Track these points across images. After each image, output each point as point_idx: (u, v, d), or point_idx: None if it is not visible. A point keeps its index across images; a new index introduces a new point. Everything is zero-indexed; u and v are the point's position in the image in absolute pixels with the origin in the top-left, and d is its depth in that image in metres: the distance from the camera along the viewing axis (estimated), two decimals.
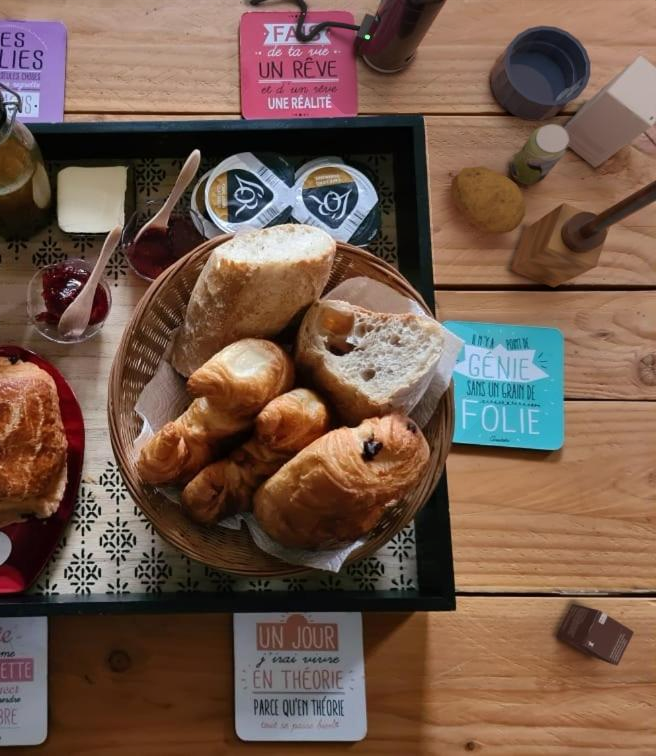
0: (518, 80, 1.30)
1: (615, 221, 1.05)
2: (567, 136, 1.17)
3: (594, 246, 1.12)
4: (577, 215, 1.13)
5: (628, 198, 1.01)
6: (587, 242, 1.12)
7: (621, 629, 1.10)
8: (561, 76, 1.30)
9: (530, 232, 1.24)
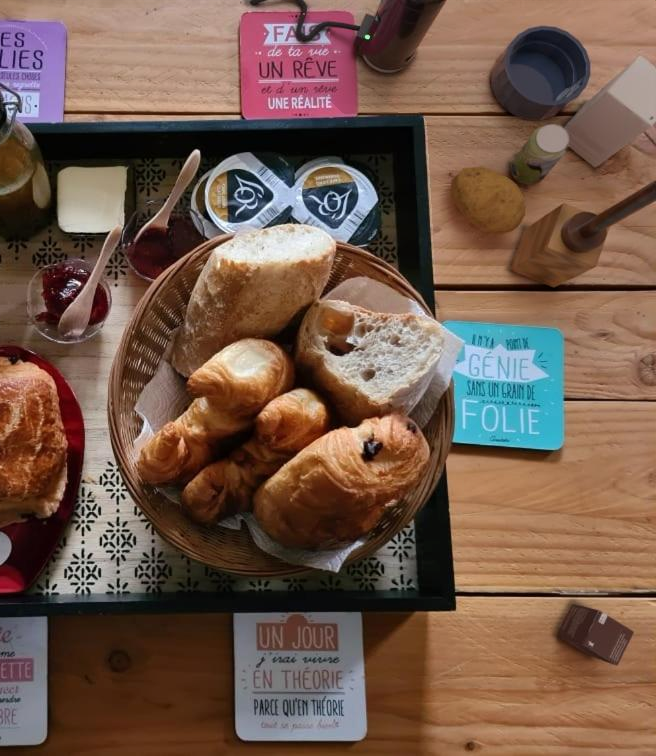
0: (518, 80, 1.30)
1: (615, 221, 1.05)
2: (567, 136, 1.17)
3: (594, 246, 1.12)
4: (577, 215, 1.13)
5: (628, 198, 1.01)
6: (587, 242, 1.12)
7: (621, 629, 1.10)
8: (561, 76, 1.30)
9: (530, 232, 1.24)
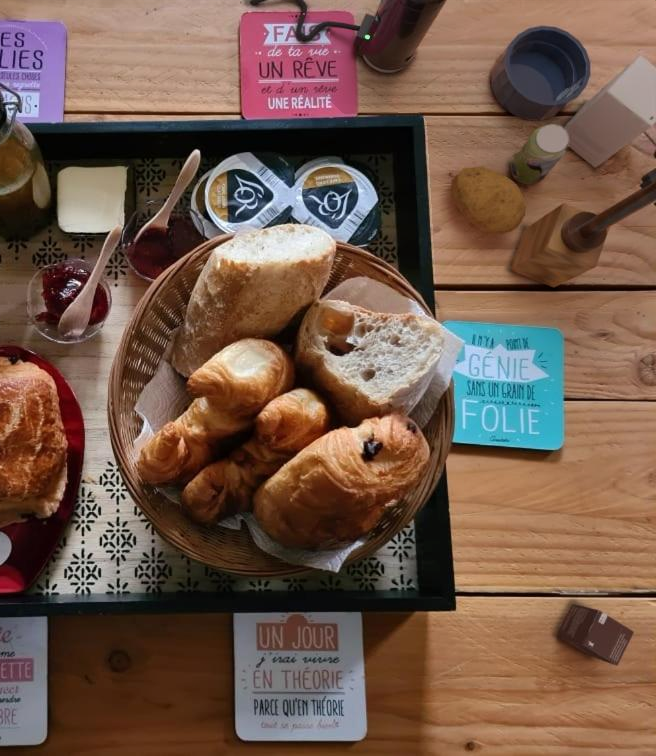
0: (518, 80, 1.30)
1: (615, 221, 1.05)
2: (567, 136, 1.17)
3: (594, 246, 1.12)
4: (577, 215, 1.13)
5: (628, 198, 1.01)
6: (587, 242, 1.12)
7: (621, 629, 1.10)
8: (561, 76, 1.30)
9: (530, 232, 1.24)
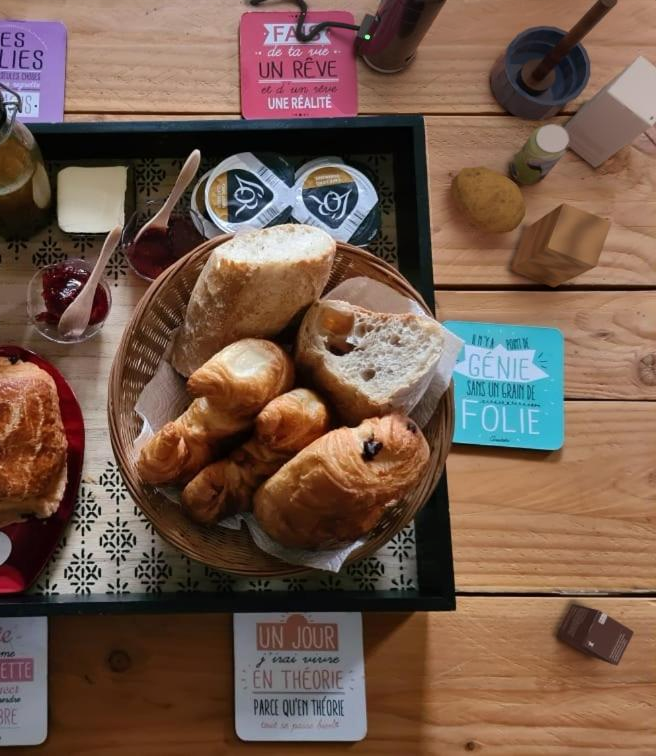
0: None
1: (565, 56, 1.21)
2: (567, 136, 1.17)
3: (552, 81, 1.28)
4: (523, 70, 1.28)
5: (569, 36, 1.17)
6: (546, 82, 1.28)
7: (621, 629, 1.10)
8: (561, 76, 1.30)
9: (530, 232, 1.24)
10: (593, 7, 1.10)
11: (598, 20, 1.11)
